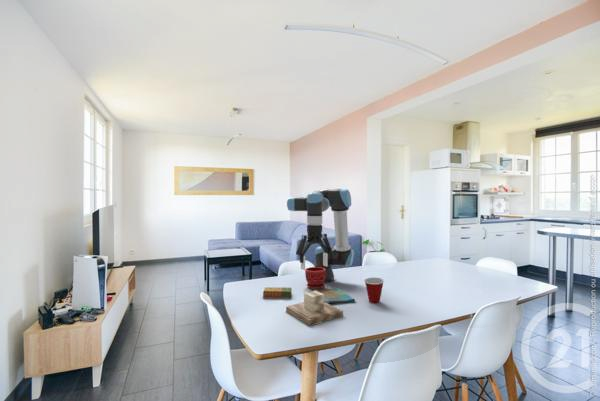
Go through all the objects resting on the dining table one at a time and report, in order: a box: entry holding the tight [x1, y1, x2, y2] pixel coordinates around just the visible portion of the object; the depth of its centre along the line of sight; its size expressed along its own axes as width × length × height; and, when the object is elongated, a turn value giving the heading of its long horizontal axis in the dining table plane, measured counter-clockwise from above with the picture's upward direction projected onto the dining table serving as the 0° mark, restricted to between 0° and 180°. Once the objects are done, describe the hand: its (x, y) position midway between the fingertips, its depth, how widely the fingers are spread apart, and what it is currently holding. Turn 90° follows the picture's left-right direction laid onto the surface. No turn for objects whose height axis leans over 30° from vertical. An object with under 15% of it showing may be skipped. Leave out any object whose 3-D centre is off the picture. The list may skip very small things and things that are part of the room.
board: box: [285, 301, 344, 327], centre depth 144 cm, size 20×20×3 cm
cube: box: [303, 290, 324, 312], centre depth 144 cm, size 7×7×7 cm
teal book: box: [313, 287, 356, 306], centre depth 169 cm, size 17×23×2 cm
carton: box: [262, 286, 292, 299], centre depth 170 cm, size 8×16×4 cm, turn 90°
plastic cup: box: [363, 277, 385, 304], centre depth 162 cm, size 11×11×12 cm
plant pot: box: [304, 266, 326, 290], centre depth 187 cm, size 13×13×12 cm
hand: (314, 267), depth 144 cm, fingers open, 13 cm apart
